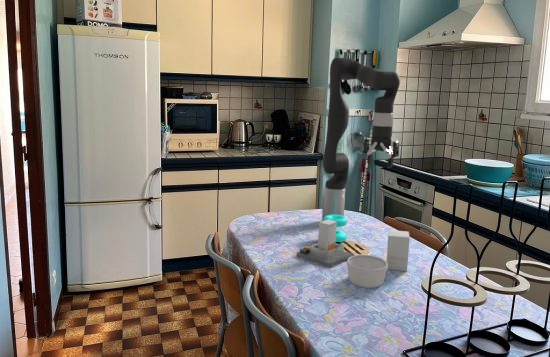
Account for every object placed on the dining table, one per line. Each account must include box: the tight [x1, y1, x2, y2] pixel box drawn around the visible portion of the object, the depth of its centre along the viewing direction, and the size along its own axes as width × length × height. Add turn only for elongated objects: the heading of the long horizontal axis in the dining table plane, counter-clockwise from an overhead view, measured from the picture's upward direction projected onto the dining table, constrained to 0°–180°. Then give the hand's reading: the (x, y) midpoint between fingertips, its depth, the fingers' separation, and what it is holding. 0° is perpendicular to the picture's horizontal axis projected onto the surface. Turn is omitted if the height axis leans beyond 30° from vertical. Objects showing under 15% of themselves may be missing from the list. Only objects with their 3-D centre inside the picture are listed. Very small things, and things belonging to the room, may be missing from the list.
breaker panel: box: [296, 242, 354, 269], centre depth 175 cm, size 16×14×4 cm
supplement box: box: [386, 229, 411, 272], centre depth 166 cm, size 7×7×13 cm
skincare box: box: [317, 219, 337, 251], centre depth 175 cm, size 6×4×12 cm
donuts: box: [323, 215, 348, 243], centre depth 194 cm, size 10×10×10 cm
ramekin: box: [346, 254, 388, 289], centre depth 154 cm, size 13×13×7 cm
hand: (379, 166), depth 181 cm, fingers open, 8 cm apart
